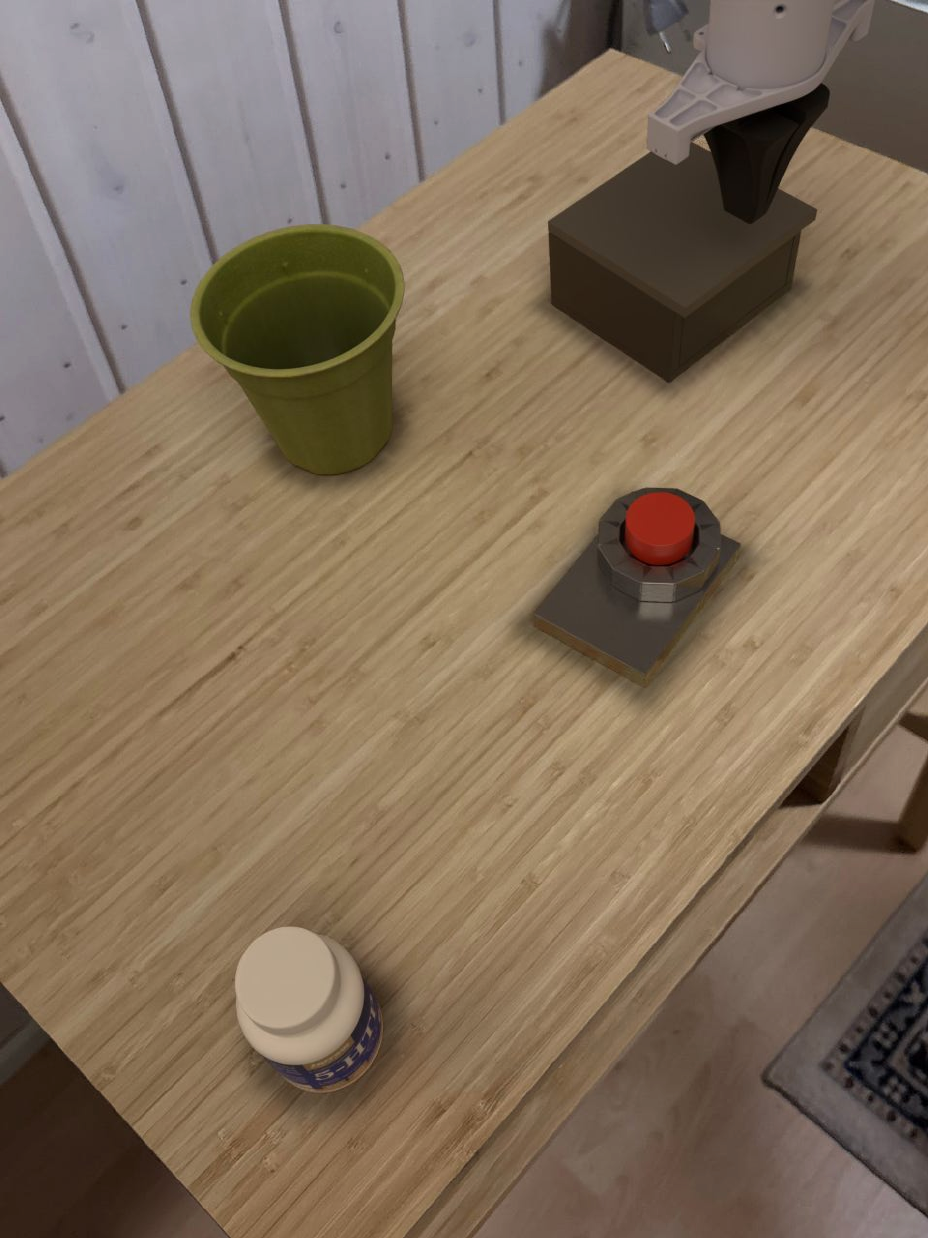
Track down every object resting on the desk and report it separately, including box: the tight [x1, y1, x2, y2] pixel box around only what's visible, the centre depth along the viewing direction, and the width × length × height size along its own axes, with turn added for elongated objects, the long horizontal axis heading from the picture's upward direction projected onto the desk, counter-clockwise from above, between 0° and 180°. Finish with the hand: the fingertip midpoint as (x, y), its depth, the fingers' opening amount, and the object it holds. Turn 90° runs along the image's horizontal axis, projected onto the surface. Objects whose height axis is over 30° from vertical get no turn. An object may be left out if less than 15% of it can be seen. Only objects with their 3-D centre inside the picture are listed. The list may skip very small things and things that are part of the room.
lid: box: [547, 141, 818, 318], centre depth 70 cm, size 11×12×1 cm
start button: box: [625, 492, 695, 565], centre depth 61 cm, size 4×4×2 cm
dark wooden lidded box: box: [547, 230, 803, 383], centre depth 73 cm, size 11×12×6 cm
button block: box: [532, 486, 742, 688], centre depth 62 cm, size 10×7×3 cm
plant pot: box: [189, 223, 406, 475], centre depth 67 cm, size 12×12×11 cm
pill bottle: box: [234, 925, 384, 1093], centre depth 48 cm, size 5×5×9 cm
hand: (744, 211), depth 64 cm, fingers closed
